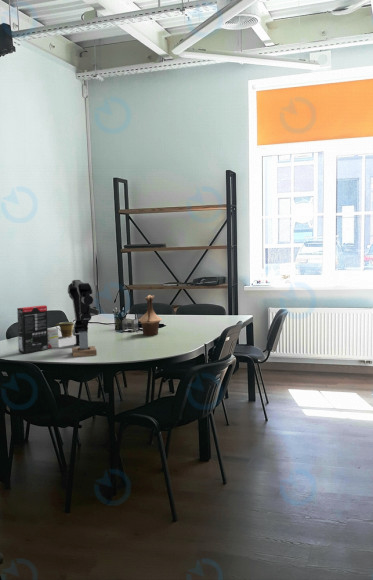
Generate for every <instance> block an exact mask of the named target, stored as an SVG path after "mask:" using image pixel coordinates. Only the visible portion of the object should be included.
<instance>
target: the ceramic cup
mask: <svg viewBox="0 0 373 580" xmlns="http://www.w3.org/2000/svg"><path fill="white" fill-rule="evenodd" d="M74 324H75V322H74V321H62V322H59V323H55V328H58V327H57V325H58V326H59V328H58V331H59V332H60V333H61V337H62V338H63V337H68V338H72V337H73V327H74Z"/></svg>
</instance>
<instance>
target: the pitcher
mask: <svg viewBox="0 0 373 580" xmlns="http://www.w3.org/2000/svg"><path fill="white" fill-rule="evenodd" d="M154 297H155V295H151V294H149V295H147V296H146V297H145V300H146V302H147V311H146V312H145V313H144V314H143V315H142V316H141V317H140V318H138V320H137V321H139V322H140V323H141V329H142V335H143V336H155V335H158V334H159V327H160V322H161V321H162V320H163V319H162V318H161V317H160V316H158V315H157V314H156V312H155V310H154V307H153V300H154Z"/></svg>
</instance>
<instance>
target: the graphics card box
mask: <svg viewBox="0 0 373 580" xmlns="http://www.w3.org/2000/svg"><path fill="white" fill-rule="evenodd" d="M16 313H17V334H18V335H17V339H18V340H17V341H18V353H21V354H29V353H34V352H41V351H47V350H49V348H48V330H47V328H48V306H47V305H44V304H43V305H35V306H25V307H24V306H23V307H18V308H17V312H16Z"/></svg>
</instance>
